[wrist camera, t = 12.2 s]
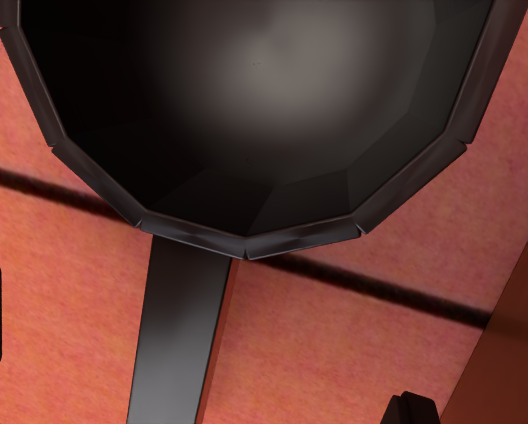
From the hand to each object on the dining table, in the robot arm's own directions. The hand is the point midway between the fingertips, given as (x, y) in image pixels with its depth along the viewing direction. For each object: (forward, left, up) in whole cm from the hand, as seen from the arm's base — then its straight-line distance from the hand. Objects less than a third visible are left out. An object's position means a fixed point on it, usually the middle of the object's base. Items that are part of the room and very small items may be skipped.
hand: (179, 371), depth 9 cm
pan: (-2, -2, -6) cm, 7 cm away
